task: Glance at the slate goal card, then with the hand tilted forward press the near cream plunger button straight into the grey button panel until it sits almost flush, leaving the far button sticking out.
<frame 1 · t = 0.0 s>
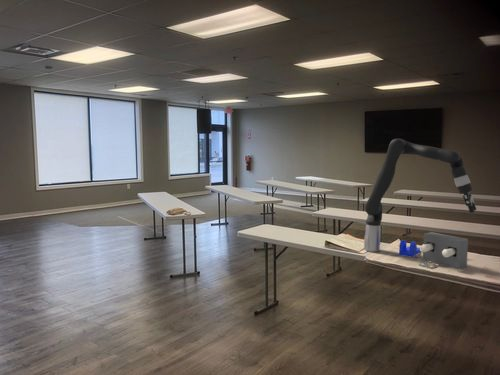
hand: (473, 211, 221), 31 cm above the table, tool tilted 20°, fingers open, 8 cm apart
far button: (428, 247, 230), point 9 cm above the table, slide at 0.0 cm
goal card: (427, 266, 223), on the table
bracket: (410, 253, 251), on the table
near button: (449, 252, 219), point 9 cm above the table, slide at 0.0 cm
grey button panel: (444, 263, 229), on the table
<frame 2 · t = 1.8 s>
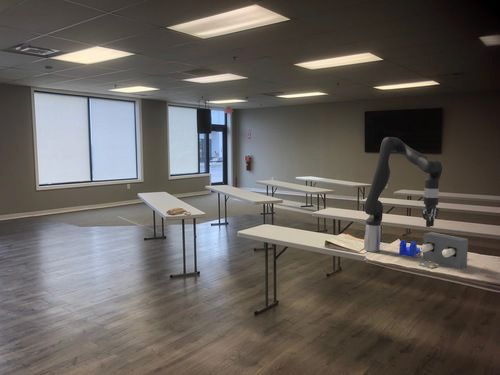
hand: (429, 226, 221), 23 cm above the table, tool pointing down, fingers closed
nothing on the table moved.
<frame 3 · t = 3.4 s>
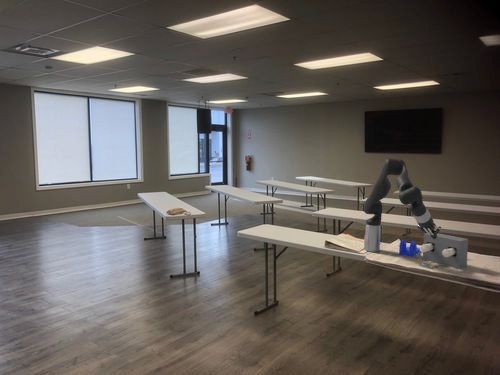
hand: (434, 237, 209), 20 cm above the table, tool tilted 45°, fingers closed
nothing on the table moved.
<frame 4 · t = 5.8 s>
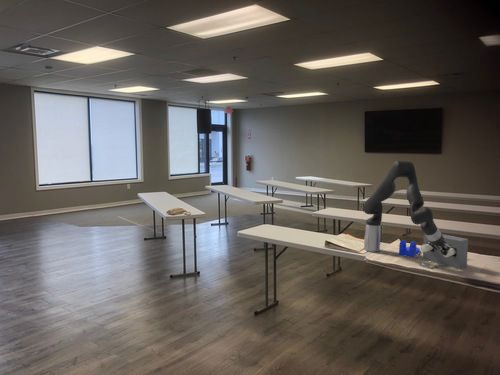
hand: (445, 253, 216), 9 cm above the table, tool tilted 45°, fingers closed
near button: (450, 252, 219), point 9 cm above the table, slide at 0.2 cm, touching gripper
everything else where it was.
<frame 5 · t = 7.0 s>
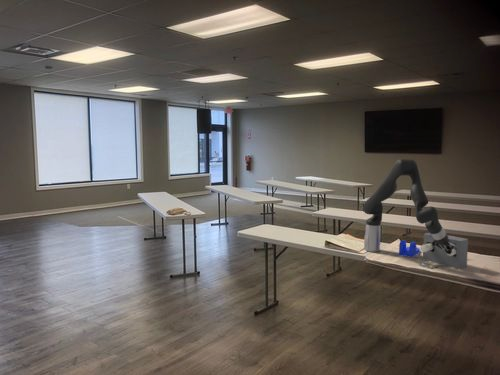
hand: (449, 252, 219), 9 cm above the table, tool tilted 45°, fingers closed
near button: (454, 251, 221), point 9 cm above the table, slide at 4.4 cm, touching gripper
everything else where it was.
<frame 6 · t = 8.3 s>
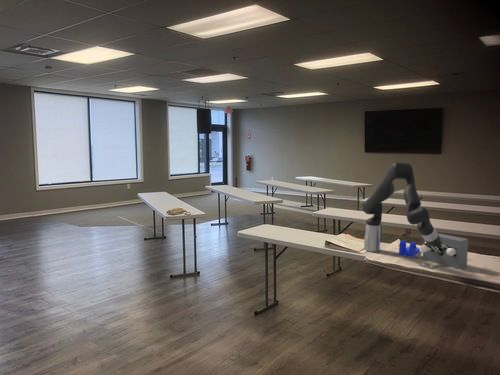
hand: (441, 254, 214), 9 cm above the table, tool tilted 45°, fingers closed
near button: (454, 251, 221), point 9 cm above the table, slide at 4.4 cm
everything else where it was.
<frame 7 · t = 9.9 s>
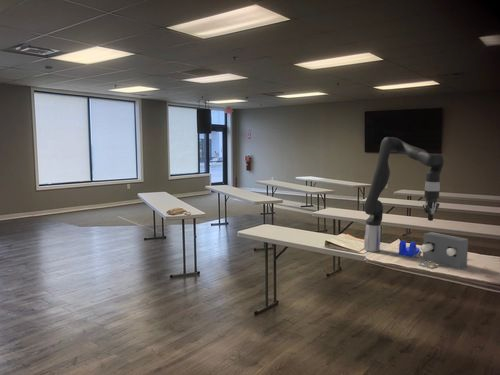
hand: (430, 220, 219), 27 cm above the table, tool pointing down, fingers closed
nothing on the table moved.
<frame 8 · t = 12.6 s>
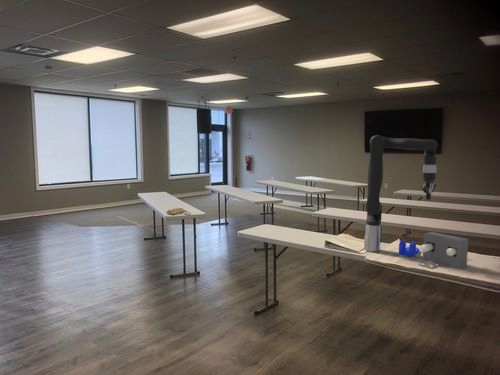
hand: (428, 199, 244), 35 cm above the table, tool pointing down, fingers closed
nothing on the table moved.
at the end: near button slide at 4.4 cm; far button slide at 0.0 cm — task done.
